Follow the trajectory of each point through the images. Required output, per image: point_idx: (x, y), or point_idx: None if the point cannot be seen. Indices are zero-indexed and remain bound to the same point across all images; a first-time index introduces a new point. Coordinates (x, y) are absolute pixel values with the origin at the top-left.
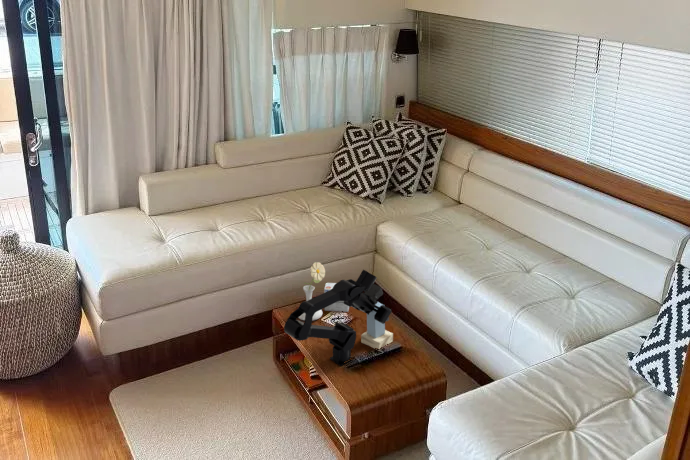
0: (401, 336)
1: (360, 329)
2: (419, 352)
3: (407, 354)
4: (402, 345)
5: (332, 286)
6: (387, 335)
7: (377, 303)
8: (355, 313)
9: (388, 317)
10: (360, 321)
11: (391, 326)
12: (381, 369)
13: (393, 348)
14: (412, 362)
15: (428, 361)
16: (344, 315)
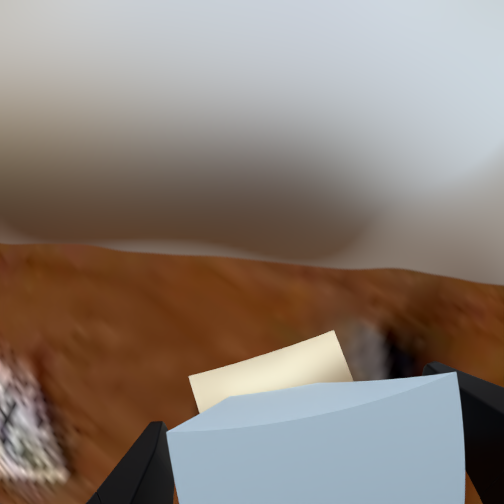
0: (305, 276)
1: (123, 418)
2: (448, 282)
3: (446, 337)
4: (379, 319)
5: None
6: (338, 376)
7: (298, 473)
8: (17, 333)
9: (470, 378)
10: (68, 364)
11: (195, 264)
12: (474, 487)
13: (382, 375)
14: (491, 347)
15: (498, 286)
16: (4, 382)
